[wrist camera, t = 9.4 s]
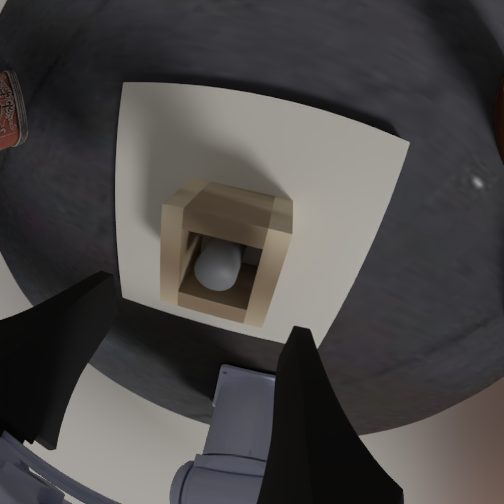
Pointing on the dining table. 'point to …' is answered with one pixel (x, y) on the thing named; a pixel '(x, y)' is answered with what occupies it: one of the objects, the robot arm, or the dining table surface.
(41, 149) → the dining table surface
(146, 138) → the post board
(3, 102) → the lighter
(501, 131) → the food container
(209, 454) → the robot arm
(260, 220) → the maple sleeve
